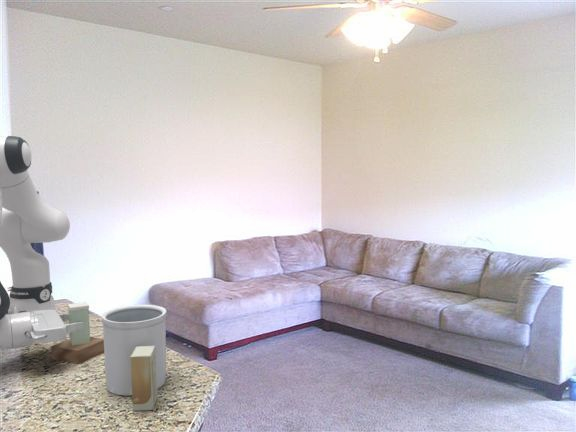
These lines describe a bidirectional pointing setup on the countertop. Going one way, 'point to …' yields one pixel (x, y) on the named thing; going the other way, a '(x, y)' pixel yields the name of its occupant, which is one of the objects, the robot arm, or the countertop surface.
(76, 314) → the canister
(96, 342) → the walnut block
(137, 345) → the utensil holder
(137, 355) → the skincare box
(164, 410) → the countertop surface
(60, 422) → the countertop surface
